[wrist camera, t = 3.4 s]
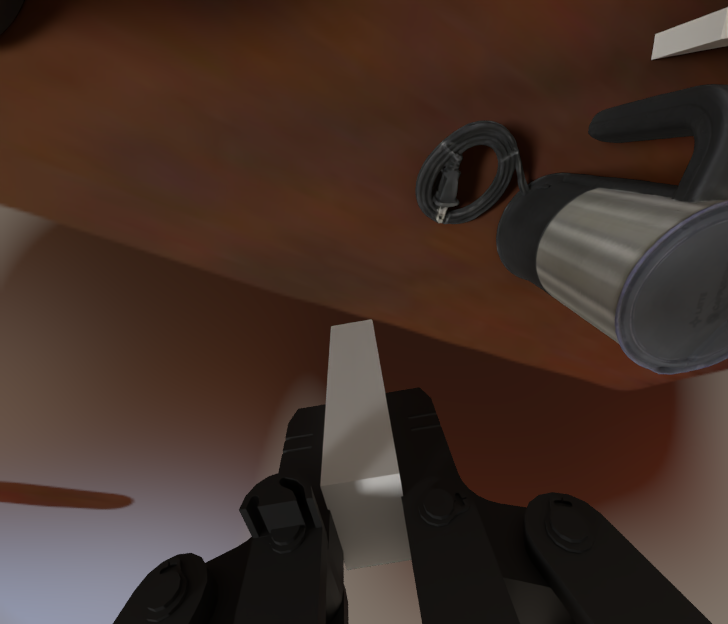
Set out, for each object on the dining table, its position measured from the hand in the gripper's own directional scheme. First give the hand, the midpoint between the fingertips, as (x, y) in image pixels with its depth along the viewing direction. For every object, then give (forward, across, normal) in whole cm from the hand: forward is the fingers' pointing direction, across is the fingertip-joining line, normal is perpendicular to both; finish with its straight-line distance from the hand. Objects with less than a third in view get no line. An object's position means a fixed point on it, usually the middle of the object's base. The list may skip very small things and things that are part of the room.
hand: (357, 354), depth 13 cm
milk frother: (+18, +14, 0) cm, 23 cm away
